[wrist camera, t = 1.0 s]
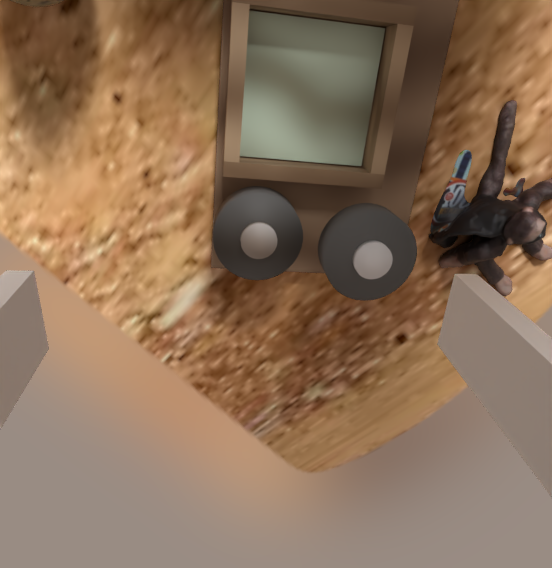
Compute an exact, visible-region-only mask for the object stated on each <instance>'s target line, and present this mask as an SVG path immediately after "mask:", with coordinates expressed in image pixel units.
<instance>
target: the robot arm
mask: <svg viewBox="0 0 552 568" xmlns="http://www.w3.org/2000/svg"><path fill="white" fill-rule="evenodd" d="M437 345H438V346H439V347H440V349H441V350H442V351H443V353H444V354H445V355H446V357H447V358H448V359H449V361H450V362H451V363H452V365H453V366H454V367H455V369H456V370H457V371H458V373H459V374H460V375H461V377H462V378H463V379H464V381H465V382H466V383H467V385H468V386H469V387H470V389H471V390H472V391H473V393H474V394H475V395H476V397H477V398H478V399H479V401H480V402H481V403H482V405H483V406H484V407H485V408H486V410H487V411H488V413H489V414H490V415H491V417H492V418H493V419H494V421H495V422H496V423H497V425H498V426H499V427H500V429H501V430H502V431H503V433H504V434H505V435H506V437H507V438H508V439H509V441H510V442H511V443H512V445H513V446H514V447H515V449H516V450H517V451H518V453H519V454H520V455H521V457H522V458H523V459H524V461H525V462H526V463H527V465H528V466H529V467H530V469H531V470H532V471H533V472H534V474H535V476H536V477H537V478H538V479H539V480H540V482H541V484H542V485H543V486H544V488H545V489H546V490H547V491H548V493H549V494H550V495H551V497H552V338H551V337H550V336H549V335H548V334H546V333H545V332H544V331H543V330H542V329H541V328H540V327H538V326H537V325H536V324H535V323H534V322H532V321H531V320H530V319H529V318H528V317H527V316H525V315H524V314H523V313H522V312H521V311H520V310H518V309H517V308H516V307H515V306H514V305H512V304H511V303H510V302H509V301H508V300H507V299H505V298H504V297H503V296H502V295H501V294H500V293H498V292H497V291H496V290H495V289H494V288H493V287H491V286H490V285H489V284H488V283H487V282H485V281H484V280H483V279H482V278H481V277H480V276H478V275H477V274H454V278H453V282H452V287H451V291H450V295H449V299H448V303H447V307H446V311H445V315H444V319H443V323H442V327H441V331H440V335H439V339H438V344H437ZM48 349H49V347H48V342H47V337H46V331H45V326H44V321H43V316H42V310H41V305H40V300H39V294H38V289H37V284H36V278H35V274H34V271H15V270H11V271H9V270H8V271H6V272H4V273H3V274H2V275H1V276H0V429H1V428H2V426H3V424H4V423H5V421H6V419H7V418H8V416H9V414H10V413H11V411H12V409H13V408H14V406H15V404H16V403H17V401H18V399H19V398H20V396H21V394H22V393H23V391H24V389H25V388H26V386H27V384H28V383H29V381H30V379H31V378H32V376H33V374H34V373H35V371H36V369H37V367H38V366H39V364H40V363H41V361H42V359H43V357H44V356H45V354H46V353H47V351H48Z"/></svg>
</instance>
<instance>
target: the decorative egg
mask: <svg viewBox="0 0 552 568" xmlns="http://www.w3.org/2000/svg"><path fill="white" fill-rule="evenodd" d="M10 1H13V2H16V3H19V4H22V5H26V6H33V7H45V6H51V5H55V4H57V3H60V2H62V1H64V0H10Z"/></svg>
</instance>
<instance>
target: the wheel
mask: <svg viewBox="0 0 552 568" xmlns="http://www.w3.org/2000/svg"><path fill="white" fill-rule="evenodd" d="M416 256H417V246H416V241H415V237H414V235H413V233H412V231H411V229H410V228H409V227H408V226H407V224H406V223H404V222H403V221H402V220H401V219H400V218H399V217H397V216H396V215H395V214H394V213H392V212H391V211H390V210H388V209H387V208H385V207H383V206H381V205H377V204H373V203H360V204H355V205H351V206H349V207H346V208H344V209H342V210H341V211H339V212H338V213H336V214H335V215H334V216H333V217H332V218H331V219H330V220H329V221H328V222H327V224H326V225H325V227H324V229H323V231H322V233H321V235H320V238H319V243H318V257H319V261H320V264H321V266H322V268H323V270H324V272H325V274H326V275H327V277H328V279H329V281H330V283H331V284H332V286H333V287H334V288H335V289H336V290H337V291H338V292H340V293H341V294H343V295H344V296H346V297H349V298H351V299H356V300H374V299H378V298H381V297H384V296H386V295H388V294H390V293H392V292H393V291H395V290H396V289H397V288H399V287H400V286H401V285H402V284H403V283H404V282H405V281H406V279H407V278H408V277H409V275H410V273H411V272H412V269H413V267H414V264H415V261H416Z"/></svg>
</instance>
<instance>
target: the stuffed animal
mask: <svg viewBox="0 0 552 568" xmlns="http://www.w3.org/2000/svg"><path fill="white" fill-rule="evenodd" d="M516 108H517V103H516V101H515V100H511V101H508V102H507V103H506V104H505V105H504V107H503V109H502V111H501V113H500V115H499V123H498V128H497V133H496V136H495V140H494V149H493V154H492V160H491V163H490V165H489V167H488V169H487V170H486V172H485V174H484V176H483V177H482V179H481V181H480V184H479V188H478V192H477V195H476V196H475V197H474V198H473V199H472V202H471V203H468V202H467V201H466V200H465V197H464V191H465V187H466V182H467V177H468V173H469V170H470V166H471V159H472V155H471V152H470V151H469V150H464V151H462V152H461V153H460V154H459V156H458V158H457V161H456V164H455V167H454V171H453V174H452V177H451V179H450V182H449V184H448V186H447V187H446V189H445V191H444V193H443V195H442V197H441V199H440V201H439V204H438V206H437V208H436V211H435V213H434V216H433V220H432V223H431V234H429V238H430V239H431V241H432V242H433V243H437V244H438V245H441V246H442V247H443V248H447V247H450V246H452V245H453V244H454V242H455V241H456V240H457V238H458V235H472V241H471V242H468V243H465V244H462V245H460V246H458V247H455V248H453V249H451V250H448V251H447V252H445V253H444V254H443V255H442V256H441V257H440V259H439V265H440V267H441V268H448V267H462V266H464V265H470V264H475V265H477V266H478V268H479V270H480V271H481V272H482V273H483V275H484V276H485V277H486V278H487V280H488V282H489V284H493V285H494V286H495V288H496V289H497V291H498V292H499V293H500V294H501V295H503V296H506V295H509V294H510V293H511V291H512V281H511V279H510V278H509V277H508V276H506V275H505V274H504V272H503V270H502V269H501V268H500V267H499V266H498V265H497V264H496V263H495V261H494V259H493V258H496V257H498V256H501V255H502V253H503V251H504V250H505V248H506V246H507V245H512V244H522V247H523V249H524V250H525V251H526V252H527V253H529V254H530V255H531V256H533V257H535V258H537V259H539V260H547V259H551V258H552V248H551V247H549V246H547V245H545V244H543V241H542V238H543V237H544V236H545V231H546V225H547V222H546V220H545V219H544V217H543V216H542V215H541V214H540V213H539V212H538V211H537V210H538V208H539V206H540V204H541V202H542V201H545V200H548V199H552V178H551V179H549V180H545V181H542V182H539V183H537V184H536V185H535V186H533V187H531V188H529V189H527V190H525V191H523V184H524V182H525V178H521V179H520V180H519V181H518V182H517V185H516V187H515V188H513V189H509V188H506V189H505V190H504V192H503V194H504V195H505V196H507V195H513V196H515V197H517V198H516V199H515V200H513V201H510V200H505V201H502V200H499V199H497V197H498V195H499V193H500V191H501V188H502V185H503V179H504V175H505V166H506V157H507V155H508V150H509V147H510V144H511V138H512V134H513V130H514V126H515V116H516Z"/></svg>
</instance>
